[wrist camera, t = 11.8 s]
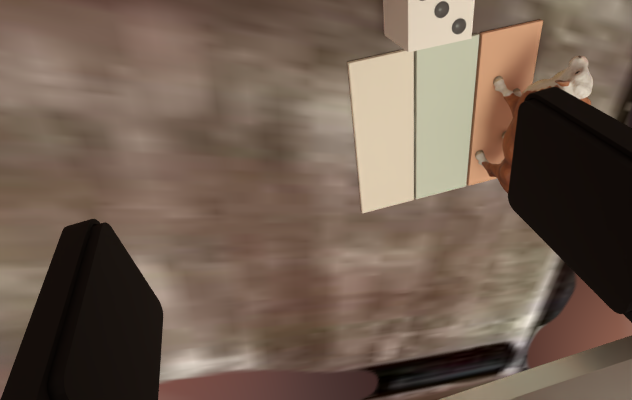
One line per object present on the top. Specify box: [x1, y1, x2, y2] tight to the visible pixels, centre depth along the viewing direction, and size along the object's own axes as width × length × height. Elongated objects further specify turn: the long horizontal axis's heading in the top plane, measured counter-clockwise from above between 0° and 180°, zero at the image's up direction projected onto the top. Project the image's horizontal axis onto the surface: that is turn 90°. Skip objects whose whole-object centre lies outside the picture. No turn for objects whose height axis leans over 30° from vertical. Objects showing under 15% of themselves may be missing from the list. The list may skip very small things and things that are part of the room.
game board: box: [347, 20, 543, 213], centre depth 42 cm, size 16×18×1 cm
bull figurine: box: [475, 56, 593, 193], centre depth 39 cm, size 4×13×8 cm, turn 175°
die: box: [383, 0, 475, 52], centre depth 32 cm, size 5×5×5 cm
